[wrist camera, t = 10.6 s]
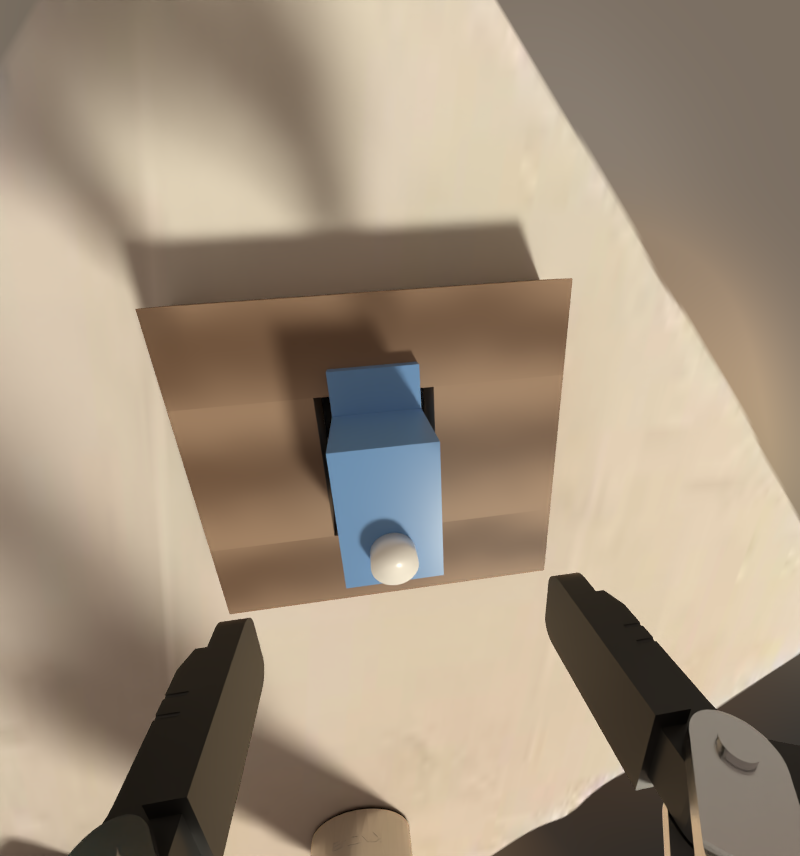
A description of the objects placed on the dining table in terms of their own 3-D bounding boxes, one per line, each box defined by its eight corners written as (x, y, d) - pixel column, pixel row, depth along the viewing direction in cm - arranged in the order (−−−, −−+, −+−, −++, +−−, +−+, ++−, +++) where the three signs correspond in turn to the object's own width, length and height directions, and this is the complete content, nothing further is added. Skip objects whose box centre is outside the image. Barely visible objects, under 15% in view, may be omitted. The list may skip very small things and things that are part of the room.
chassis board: (522, 538, 25) (543, 570, 22) (245, 574, 23) (229, 614, 20) (539, 279, 19) (572, 278, 16) (170, 305, 17) (135, 309, 14)
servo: (330, 357, 19) (314, 405, 11) (407, 350, 19) (444, 392, 12) (352, 520, 23) (351, 641, 15) (417, 512, 23) (449, 627, 15)
